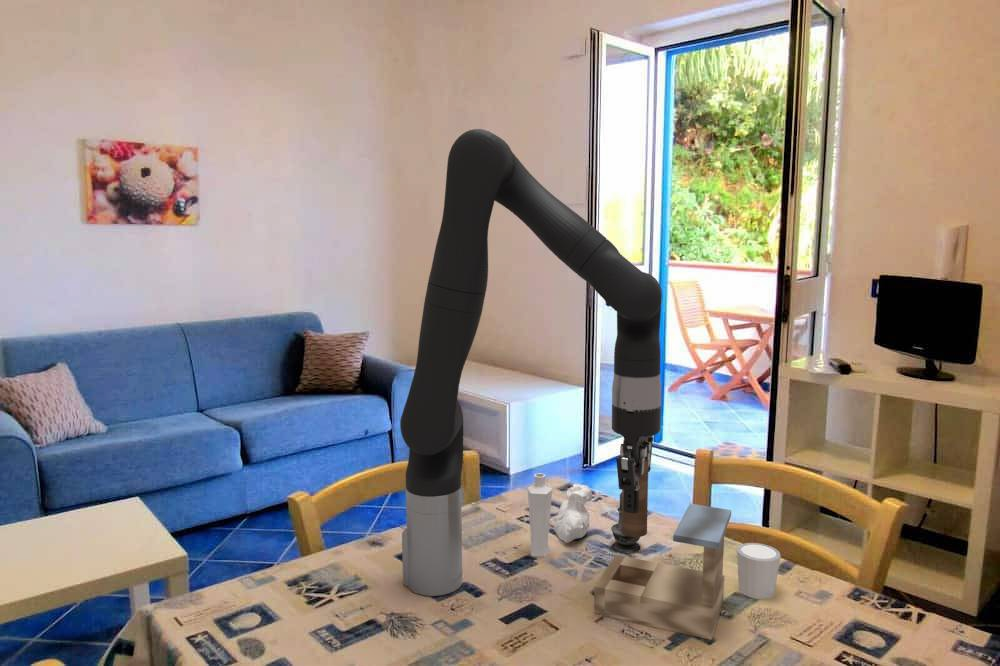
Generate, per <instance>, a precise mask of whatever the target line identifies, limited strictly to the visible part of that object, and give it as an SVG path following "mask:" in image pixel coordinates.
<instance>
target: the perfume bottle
mask: <svg viewBox="0 0 1000 666" xmlns="http://www.w3.org/2000/svg"><path fill="white" fill-rule="evenodd" d="M533 475H534V484H532V485H530V486H528V487H527V500H528V513H529V514H528V515H529V530H530V546H529V550H528V551H529V554H530V556H531V557H540V558H546V557H547V556H548V555H549V554H550V552H551V550H550V548H549V534H550V523H551V522H550V521H551V511H552V497H553V488H552V487H550V486H547V485H546V474H544V473H540V472H539V473H534V474H533Z"/></svg>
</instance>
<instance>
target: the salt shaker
mask: <svg viewBox="0 0 1000 666" xmlns="http://www.w3.org/2000/svg"><path fill="white" fill-rule="evenodd" d="M617 511H618V523H615V524H613V525H612V526H611V527H610V531H611V532H612V536H613V538H614V540H615V541H614V543H613V544H612V545H611V547H612V549H613V550H614V551H616V552H618V553H621V554H629V555H630V554H635V553H638V552H640V551H641V549H642V548H641V545H640V544H639V543H637V542H638V541H639V540H640V538H641V537H630V536H627V535H624V534H623V533H622V491H621V492H620V494H619V507H618V508H617ZM639 550H640V551H639Z"/></svg>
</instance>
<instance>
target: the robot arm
mask: <svg viewBox="0 0 1000 666" xmlns="http://www.w3.org/2000/svg"><path fill="white" fill-rule="evenodd" d="M444 189H445V191H444V202H443V212H442V218H441V222H440V228H439V232H438V236H437V240H436V245H435V249H434V253H433V258H432V262H431V263H432V264H431V268H430V272H429V276H428V280H427V281H428V282H427V287H426V292H425V297H424V303H423V310H422V316H421V323H420V329H419V336H418V337H419V338H418V346H417V347H418V348H417V356H416V365H415V368H414V373H413V377H412V380H411V384H410V387H409V390H408V395H407V399H406V401H405V404H404V407H403V411H402V414H401V416H400V423H399V427H400V428H399V429H400V432H401V433H400V434H401V437H402V439H403V441H404V443H405V445H406V446H407V447H408V448H409V453H408V462H407V466H406V471H405V505H406V506H405V507H406V511H405V513H406V528H405V529H404V530H403V531H402V533H401V548H402V549H401V551H402V553H401V554H402V557H401V558H402V585H403V586H406V587H408V588H409V589H410V591H412V592H414V593H415V594H418V595H422V596H427V597H437V596H438V597H439V596H445V595H448V594H451V593H454V592H455V591H457V590H458V589H459V588H460V587H462V585H463V533H462V532H463V529H462V527H463V526H462V525H463V524H462V521H463V520H462V519H463V517H462V511H463V510H462V472H463V465H464V414H463V413H464V412H463V408H462V406H461V403H460V402H459V401H458V398H459V397H458V396H459V388H460V383H461V378H462V373H463V370H464V367H465V364H466V362H467V358H468V357H469V354H470V351H471V348H472V345H473V343H474V341H475V337H476V335H477V331H478V328H479V324H480V320H481V317H482V313H483V307H484V303H485V297H486V292H487V287H488V280H489V278H488V277H489V245H488V244H489V242H488V241H489V239H488V238H489V237H488V235H489V227H490V222H491V221H490V220H491V217H492V212H493V208H494V205H495V202H496V203H498V204H499V205H501V206H503V207H504V208H505V209H507V210H508V211H510V212H511V213H512V214H513V215H514V216H515V217H517V218H518V219H519V220H520V221H521V222H522V223H523V224H524V225H526V226H527V227H528V229H530V230H531V231H532V233H533V234H534V235H535V236H536V237H537V238H538V239H539V240H540V241H541V242H542V244H543V245H544V246H545V247H546V248H547V249H548V250H549V251H551V253H553V254H554V255H555V256H556V257H557V258H558V259H559V260H560V261H561V262H562V263H563V264H565V266H567V267H568V268H569V269H570V270H571V271H572V272H574V273H575V274H577V276H579V277H580V278H581V279H583V280H584V281H585V282H586V283H588V285H590V286H591V287H592V289H594V291H595V292H596V293H597V294H598V295H599V296H600V297H601V298H602V300H604V301H605V303H607V304H608V305H609V306H610V307H611V308H612V309H613V310H614V311H615V312H616V340H615V343H614V350H613V351H614V353H613V379H612V386H611V388H612V389H611V430H612V431H613V432H614V433H615V434H617V435H621V436H622V437H623V440H622V443H620V447H619V448H620V449H619V455H617V456H616V458H615V459H616V460H615V462H616V470H617V482H618V489H619V490H622V489H624V511H625V512H627V513H634V514H636V513H637V512H638V510H639V488H640V486H639V483H640V476H642V475H643V473H644V461H645V458H647V459H648V473H650V472H651V468H652V467H651V464H652V452H653V441H654V437H653V436H656V435H658V434H659V433H660V432H661V428H662V427H661V424H662V381H661V343H660V327H661V316H662V315H661V314H662V313H661V312H662V300H663V291H662V287H661V285H660V283H659V281H658V279H656V277H654V275H651V274H650V273H647V272H643V271H642V270H640V269H639V268H638V267H637V266H636V265H634V264H633V263H632V262H631V261H629V260H628V259H627V258H626V257H625V256H623V255H622V254H621V253H620V252H619V250H618V248H617V247H616V246H615V245H614V244H613V243H612V242H611V241H610V240H609V239H607V237H606V236H604V234H602V233H601V232H600V231H599V230H598V229H596V228H595V227H594V226H593V225H591V224H590V223H589V222H588V221H587V220H586V219H584V218H583V217H582V216H580V215H579V214H578V213H576V212H575V211H574V210H572V209H571V208H570V207H569V206H568V205H566V204H565V203H564V202H562V201H561V200H559V199H558V197H556V196H555V195H553V194H552V193H551V192H550V191H549V190H547V189H546V188H545V186H543V185H542V184H541V183H540V182H539V181H538V180H537V179H536V178H535V177H534V176H533V175H532V173H530V171H529V170H528V169H527V168H526V167H525V166H524V165H523V163H522V161H520V159H519V158H518V157H517V156H516V154H515V153H514V152H513V151H512V149H511V147H510V145H509V144H508V143H507V142H506V140H504V139H503V138H501V137H499V136H498V135H496V133H492V132H491V131H490V130H486V129H481V128H473V129H469V130H467V131H465V132H463V133H462V134H461V135H459V136H458V137H457V138H456V139H455V141H454V142H453V144H452V145H451V148H450V150H449V153H448V157H447V165H446V177H445V188H444ZM638 466H639V469H638V470H635V467H638ZM627 479H630V480H631V482H627Z"/></svg>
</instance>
